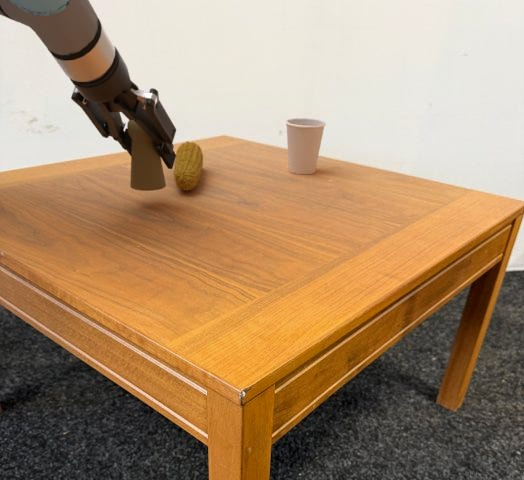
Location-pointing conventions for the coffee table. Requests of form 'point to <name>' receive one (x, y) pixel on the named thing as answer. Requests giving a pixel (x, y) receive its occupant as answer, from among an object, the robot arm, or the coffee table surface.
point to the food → (188, 165)
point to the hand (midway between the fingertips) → (156, 160)
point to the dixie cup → (304, 144)
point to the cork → (144, 161)
